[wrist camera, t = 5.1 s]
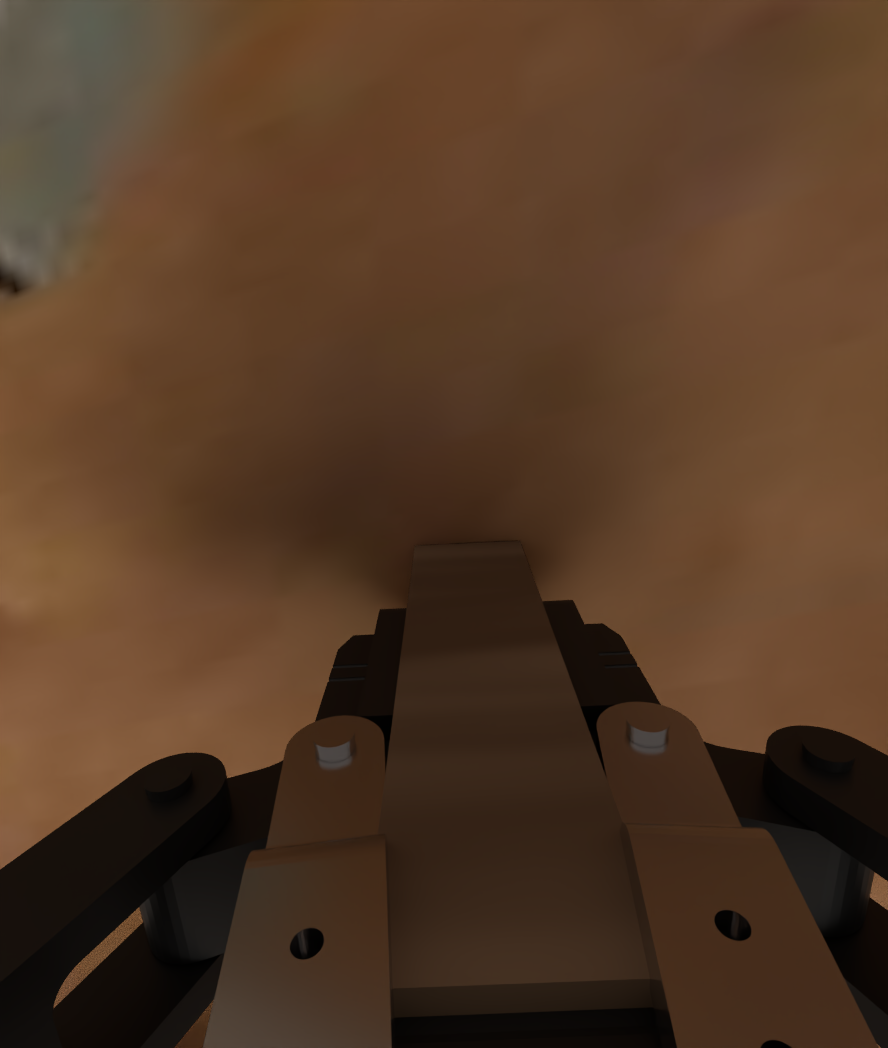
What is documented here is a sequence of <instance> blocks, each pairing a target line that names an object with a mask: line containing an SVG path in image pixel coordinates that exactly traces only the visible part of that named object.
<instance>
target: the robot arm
mask: <svg viewBox="0 0 888 1048" xmlns="http://www.w3.org/2000/svg"><path fill="white" fill-rule="evenodd" d="M542 602H543V605H544V608H545V611H546V613H547V616H548V619H549V622H550V624H551V627H552V630H553V633H554V635H555V638H556V641H557V644H558V646H559V649H560V652H561V655H562V657H563V660H564V663H565V666H566V668H567V671H568V674H569V677H570V679H571V682H572V685H573V688H574V690H575V693H576V696H577V699H578V701H579V704H580V707H581V710H582V712H583V715H584V718H585V720H586V723H587V726H588V729H589V731H590V734H591V737H592V740H593V742H594V745H595V748H596V751H597V753H598V756H599V759H600V762H601V764H602V767H603V770H604V773H605V775H606V778H607V781H608V784H609V786H610V789H611V792H612V795H613V797H614V800H615V803H616V806H617V808H618V811H619V814H620V817H621V819H622V822H623V823H622V824H621V828H620V830H619V832H620V836H621V841H622V846H623V851H624V856H625V861H626V865H627V870H628V875H629V880H630V885H631V889H632V894H633V899H634V904H635V909H636V914H637V918H638V923H639V928H640V933H641V938H642V943H643V947H644V952H645V957H646V962H647V967H648V972H649V976H650V986H649V989H650V994H651V999H652V1004H653V1007H649V1008H624V1009H599V1010H574V1011H549V1012H524V1013H498V1014H473V1015H448V1016H423V1017H398V1018H395V1016H394V995H393V981H392V953H391V925H390V897H389V870H388V842H387V836H386V833H383V834H378V828H379V820H380V812H381V804H382V797H383V789H384V781H385V773H386V766H387V758H388V750H389V742H390V735H391V727H392V719H393V711H394V704H395V696H396V688H397V680H398V672H399V665H400V657H401V649H402V641H403V634H404V626H405V618H406V610H407V608H398V609H380V611H379V615H378V620H377V624H376V629H375V634H374V635H355V636H352V637H351V638H350V639H349V640H348V641H347V642H346V643H345V644H344V645H343V646H341V647H340V648H339V649H338V652H337V655H336V658H335V661H334V664H333V668H332V670H331V673H330V677H329V682H328V683H327V686H326V689H325V692H324V695H323V698H322V702H321V705H320V708H319V711H318V714H317V717H316V720H315V722H313V723H311V724H309V725H307V726H306V727H304V728H302V729H301V730H300V731H298V732H297V733H296V734H295V735H294V736H293V737H292V738H291V740H290V741H289V743H288V744H287V747H286V750H285V755H284V760H283V761H281V762H279V763H277V764H275V765H272V766H270V767H267V768H264V769H260V770H257V771H253V772H249V773H246V774H242V775H238V776H235V777H231V778H227V776H226V771H225V767H224V765H223V764H222V762H221V761H220V760H219V759H217V758H216V757H214V756H212V755H208V754H205V753H183V754H177V755H173V756H169V757H166V758H163V759H160V760H157V761H155V762H153V763H151V764H149V765H147V766H145V767H143V768H142V769H140V770H138V771H137V772H135V773H134V774H133V775H131V776H130V777H128V778H127V779H126V780H124V781H123V782H121V783H120V784H119V785H117V786H116V787H114V788H113V789H112V790H110V791H109V792H108V793H106V794H105V795H103V796H102V797H101V798H99V799H98V800H96V801H95V802H94V803H92V804H91V805H89V806H88V807H87V808H85V809H84V810H82V811H81V812H80V813H78V814H77V815H76V816H74V817H73V818H71V819H70V820H69V821H67V822H66V823H64V824H63V825H62V826H60V827H59V828H57V829H56V830H55V831H53V832H52V833H50V834H49V835H48V836H46V837H45V838H44V839H42V840H41V841H39V842H38V843H37V844H35V845H34V846H32V847H31V848H30V849H28V850H27V851H25V852H24V853H23V854H21V855H20V856H18V857H17V858H16V859H14V860H13V861H12V862H10V863H9V864H7V865H6V866H5V867H3V868H2V869H0V1048H174V1047H175V1046H176V1045H177V1043H178V1042H179V1041H180V1040H181V1039H182V1037H183V1036H184V1035H185V1034H186V1032H187V1031H188V1030H189V1029H190V1028H191V1026H192V1025H193V1024H194V1023H195V1021H196V1020H197V1019H198V1018H199V1017H200V1015H201V1014H202V1013H203V1012H204V1011H205V1009H206V1008H207V1007H208V1006H209V1004H210V1003H211V1002H212V1001H213V1000H214V1001H213V1006H212V1010H211V1014H210V1019H209V1023H208V1027H207V1032H206V1036H205V1040H204V1045H203V1048H879V1047H878V1045H879V1046H880V1047H881V1048H888V910H887V909H885V908H884V907H882V906H881V905H880V904H878V903H877V902H875V901H874V900H873V899H871V898H870V892H871V887H872V882H873V877H874V872H875V873H877V874H878V875H880V876H881V877H883V878H884V879H885V880H887V881H888V756H887V755H885V754H884V753H882V752H880V751H878V750H876V749H874V748H872V747H870V746H868V745H866V744H865V743H863V742H861V741H859V740H857V739H855V738H852V737H850V736H848V735H845V734H843V733H840V732H837V731H833V730H830V729H825V728H821V727H814V726H790V727H785V728H782V729H779V730H777V731H775V732H774V733H772V734H771V735H770V737H769V738H768V740H767V744H766V752H765V754H761V753H755V752H748V751H742V750H736V749H730V748H725V747H720V746H716V745H712V744H709V743H706V742H704V741H703V740H702V738H701V735H700V733H699V731H698V729H697V728H696V726H695V725H694V724H693V723H692V721H691V720H689V719H688V718H687V717H686V716H684V715H683V714H681V713H679V712H678V711H675V710H673V709H671V708H668V707H666V706H663V705H661V704H660V703H659V701H658V699H657V697H656V696H655V694H654V692H653V691H652V689H651V687H650V685H649V684H648V682H647V680H646V678H645V677H644V675H643V673H642V672H641V670H640V668H639V667H637V663H636V661H635V659H634V658H633V656H632V654H630V651H629V649H628V647H627V646H626V644H625V642H624V640H623V639H622V637H621V636H620V635H619V634H617V633H616V632H614V631H613V630H611V629H610V628H608V627H607V626H605V625H604V624H584V622H583V620H582V618H581V616H580V614H579V612H578V610H577V608H576V606H575V603H574V602H573V600H562V601H542ZM138 907H139V908H140V912H141V916H142V919H143V923H142V924H141V925H140V926H139V927H138V928H137V929H136V930H135V931H134V932H133V933H132V934H131V935H130V936H129V937H127V938H126V939H125V940H124V941H123V942H122V943H121V944H120V945H119V946H118V947H117V948H116V949H115V950H114V951H113V952H112V953H111V954H110V955H109V956H108V957H107V958H106V959H105V960H104V961H103V962H101V963H100V964H99V965H98V966H97V967H96V968H95V969H94V970H93V971H92V972H91V973H90V974H89V975H88V976H87V977H86V978H85V979H84V980H83V981H82V982H81V983H80V984H79V985H78V986H77V987H76V988H74V989H73V990H72V991H71V992H70V993H69V994H68V995H67V996H66V997H65V998H64V999H63V1000H62V1001H61V1002H60V1003H59V1004H58V1005H57V1006H56V1007H55V1008H54V1009H53V1006H54V1002H55V999H56V996H57V994H58V991H59V989H60V987H61V986H62V984H63V982H64V980H65V979H66V978H67V976H68V975H69V973H70V972H71V971H72V970H73V969H74V967H75V966H76V965H77V964H78V963H79V962H80V961H81V960H82V959H84V958H85V957H86V956H87V955H88V954H89V953H90V952H91V951H92V950H93V949H94V948H95V947H96V946H97V945H99V944H100V943H101V942H102V941H103V940H104V939H105V938H106V937H107V936H108V935H109V934H110V933H111V932H113V931H114V930H115V929H116V928H117V927H118V926H119V925H120V924H121V923H122V922H123V921H124V920H125V919H126V918H128V917H129V916H130V915H131V914H132V913H133V912H134V911H135V910H136V909H137V908H138ZM877 1044H878V1045H877Z"/></svg>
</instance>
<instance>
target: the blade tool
mask: <svg viewBox="0 0 888 1048" xmlns="http://www.w3.org/2000/svg"><path fill="white" fill-rule="evenodd" d="M622 823H623V822H622V819H621V817H620V814H619V811H618V808H617V806H616V803H615V800H614V797H613V795H612V792H611V789H610V786H609V784H608V781H607V778H606V775H605V773H604V770H603V767H602V764H601V762H600V759H599V756H598V753H597V751H596V748H595V745H594V742H593V740H592V737H591V734H590V731H589V729H588V726H587V723H586V720H585V718H584V715H583V712H582V710H581V707H580V704H579V701H578V699H577V696H576V693H575V690H574V688H573V685H572V682H571V679H570V677H569V674H568V671H567V668H566V666H565V663H564V660H563V657H562V655H561V652H560V649H559V646H558V644H557V641H556V638H555V635H554V633H553V630H552V627H551V624H550V622H549V619H548V616H547V613H546V611H545V608H544V605H543V602H542V600H541V597H540V594H539V592H538V589H537V586H536V583H535V581H534V578H533V575H532V572H531V570H530V567H529V564H528V561H527V559H526V556H525V553H524V550H523V548H522V545H521V542H520V541H502V542H481V543H460V544H439V545H418V546H415V548H414V556H413V564H412V572H411V579H410V587H409V595H408V603H407V610H406V618H405V626H404V634H403V641H402V649H401V657H400V665H399V672H398V680H397V688H396V696H395V704H394V711H393V719H392V727H391V735H390V742H389V750H388V758H387V766H386V773H385V781H384V789H383V797H382V804H381V812H380V820H379V828H378V834H383V833H386V836H387V842H388V870H389V897H390V925H391V953H392V981H393V995H394V1016H395V1018H398V1017H423V1016H448V1015H473V1014H498V1013H524V1012H549V1011H574V1010H599V1009H624V1008H649V1007H653V1004H652V999H651V994H650V989H649V986H650V976H649V972H648V967H647V962H646V957H645V952H644V947H643V943H642V938H641V933H640V928H639V923H638V918H637V914H636V909H635V904H634V899H633V894H632V889H631V885H630V880H629V875H628V870H627V865H626V861H625V856H624V851H623V846H622V841H621V836H620V832H619V830H620V828H621V824H622Z"/></svg>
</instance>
